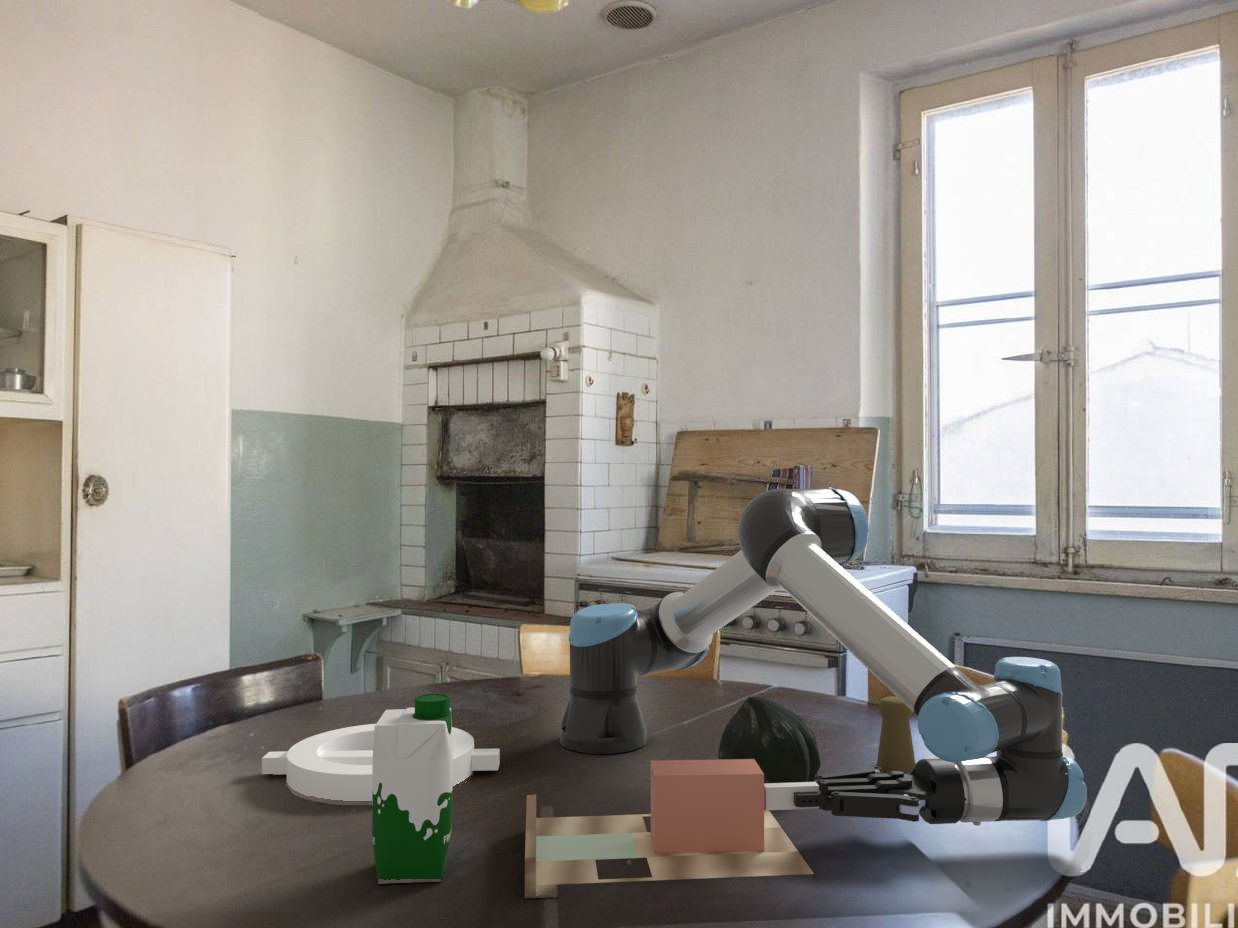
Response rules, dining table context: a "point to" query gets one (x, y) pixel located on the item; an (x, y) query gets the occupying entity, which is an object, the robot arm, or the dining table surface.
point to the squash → (772, 741)
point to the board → (651, 853)
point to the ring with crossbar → (358, 762)
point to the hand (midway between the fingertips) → (764, 796)
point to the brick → (707, 805)
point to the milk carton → (413, 790)
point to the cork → (895, 737)
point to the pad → (585, 847)
